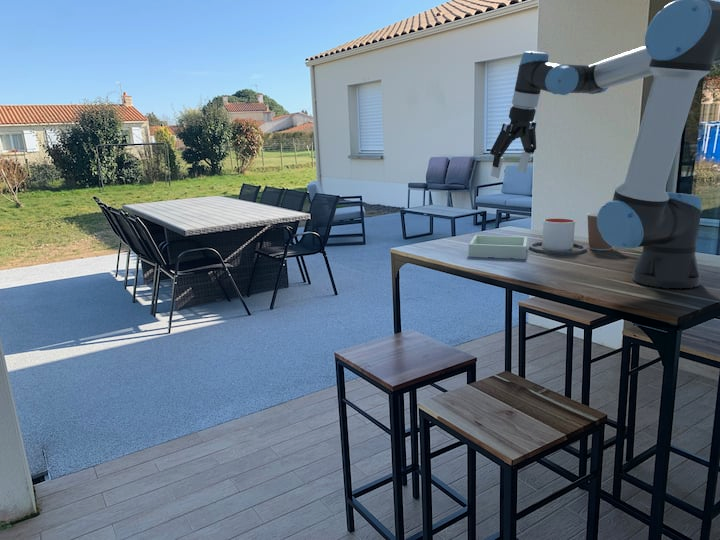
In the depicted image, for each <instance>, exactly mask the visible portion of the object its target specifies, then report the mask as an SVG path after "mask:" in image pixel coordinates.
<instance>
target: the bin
mask: <svg viewBox="0 0 720 540" xmlns="http://www.w3.org/2000/svg"><path fill="white" fill-rule="evenodd" d="M527 249H528V236H511V235H509V236H508V235H479V234H478V235H477V234H476V235H475V234H474V236H473V237H472V239H471V241H470V242H469V243H468V257H471V258H473V257H474V258H488V257H494V258H493V259H496V258H497V259H510V258H514V259H515V260H527V251H528V250H527Z"/></svg>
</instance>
